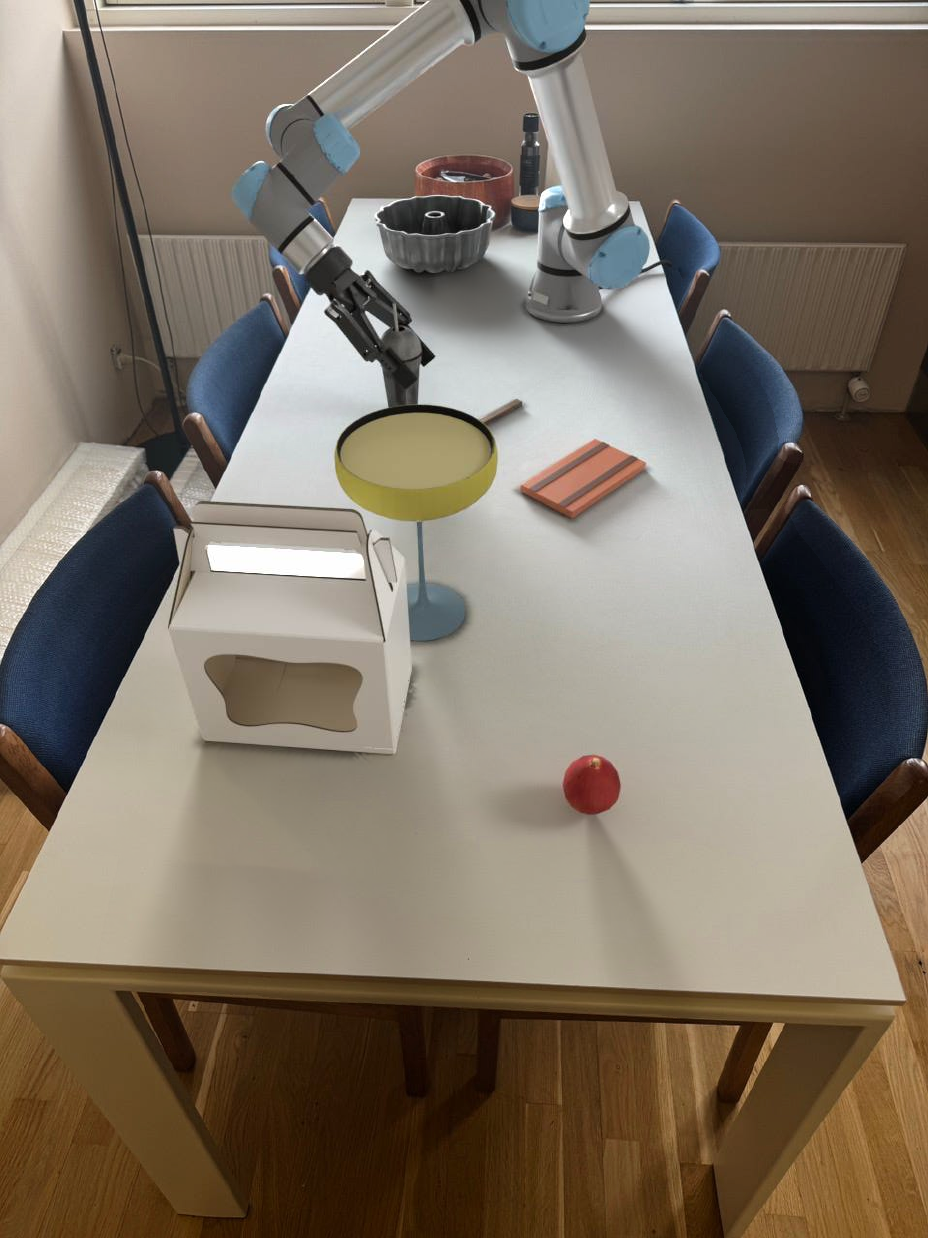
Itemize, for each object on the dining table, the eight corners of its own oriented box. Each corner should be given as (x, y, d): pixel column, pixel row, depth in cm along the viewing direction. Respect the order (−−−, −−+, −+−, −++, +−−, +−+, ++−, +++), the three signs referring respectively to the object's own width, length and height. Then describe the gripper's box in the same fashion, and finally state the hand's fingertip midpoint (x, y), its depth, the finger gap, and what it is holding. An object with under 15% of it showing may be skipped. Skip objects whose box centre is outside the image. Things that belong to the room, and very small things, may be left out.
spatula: (507, 398, 156) (507, 394, 156) (531, 409, 153) (531, 405, 153) (420, 445, 145) (420, 441, 145) (444, 458, 142) (444, 453, 142)
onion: (556, 786, 96) (561, 737, 90) (609, 782, 96) (618, 733, 90) (565, 832, 91) (571, 784, 86) (621, 828, 92) (630, 780, 86)
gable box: (200, 741, 100) (137, 542, 81) (233, 657, 110) (184, 462, 91) (397, 756, 99) (380, 556, 80) (414, 669, 108) (402, 473, 89)
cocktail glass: (402, 552, 125) (392, 388, 108) (518, 595, 118) (526, 427, 101) (324, 630, 113) (299, 461, 96) (448, 682, 107) (444, 510, 90)
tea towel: (594, 445, 145) (595, 438, 144) (645, 468, 140) (646, 461, 139) (520, 491, 136) (520, 484, 135) (572, 518, 130) (572, 511, 130)
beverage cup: (431, 408, 154) (427, 294, 140) (415, 430, 149) (410, 313, 135) (391, 402, 155) (384, 288, 142) (375, 422, 150) (365, 306, 137)
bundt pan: (353, 258, 203) (349, 212, 196) (440, 229, 216) (439, 185, 209) (430, 293, 189) (429, 245, 182) (518, 260, 202) (520, 214, 195)
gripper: (333, 251, 148) (428, 357, 155) (275, 300, 134) (382, 414, 141) (360, 221, 143) (457, 333, 150) (302, 269, 129) (412, 389, 136)
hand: (420, 372), depth 145 cm, fingers closed on beverage cup, 7 cm apart
